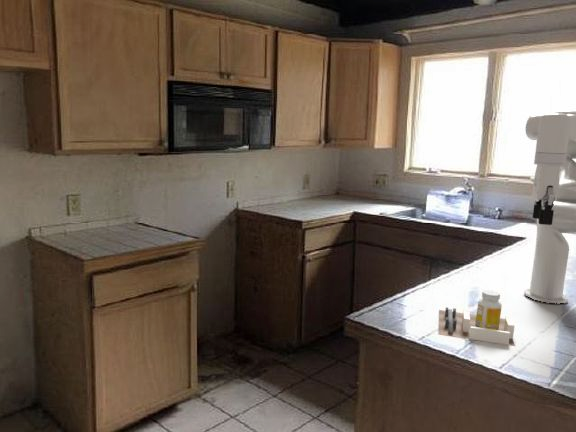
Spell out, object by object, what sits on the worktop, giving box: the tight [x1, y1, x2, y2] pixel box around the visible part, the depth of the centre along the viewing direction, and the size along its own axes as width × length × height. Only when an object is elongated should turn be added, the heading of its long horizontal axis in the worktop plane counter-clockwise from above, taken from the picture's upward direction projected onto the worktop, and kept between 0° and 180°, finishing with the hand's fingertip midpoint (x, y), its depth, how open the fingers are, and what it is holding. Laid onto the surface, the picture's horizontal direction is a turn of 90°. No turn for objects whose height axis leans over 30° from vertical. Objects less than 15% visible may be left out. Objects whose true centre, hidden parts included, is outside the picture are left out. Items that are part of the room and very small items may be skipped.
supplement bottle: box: [475, 289, 503, 330], centre depth 131 cm, size 6×6×10 cm
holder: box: [462, 310, 515, 346], centre depth 128 cm, size 10×12×4 cm
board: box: [437, 309, 516, 347], centre depth 134 cm, size 19×18×1 cm
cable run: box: [444, 306, 457, 334], centre depth 135 cm, size 16×3×2 cm, turn 163°
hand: (541, 221), depth 140 cm, fingers open, 9 cm apart
